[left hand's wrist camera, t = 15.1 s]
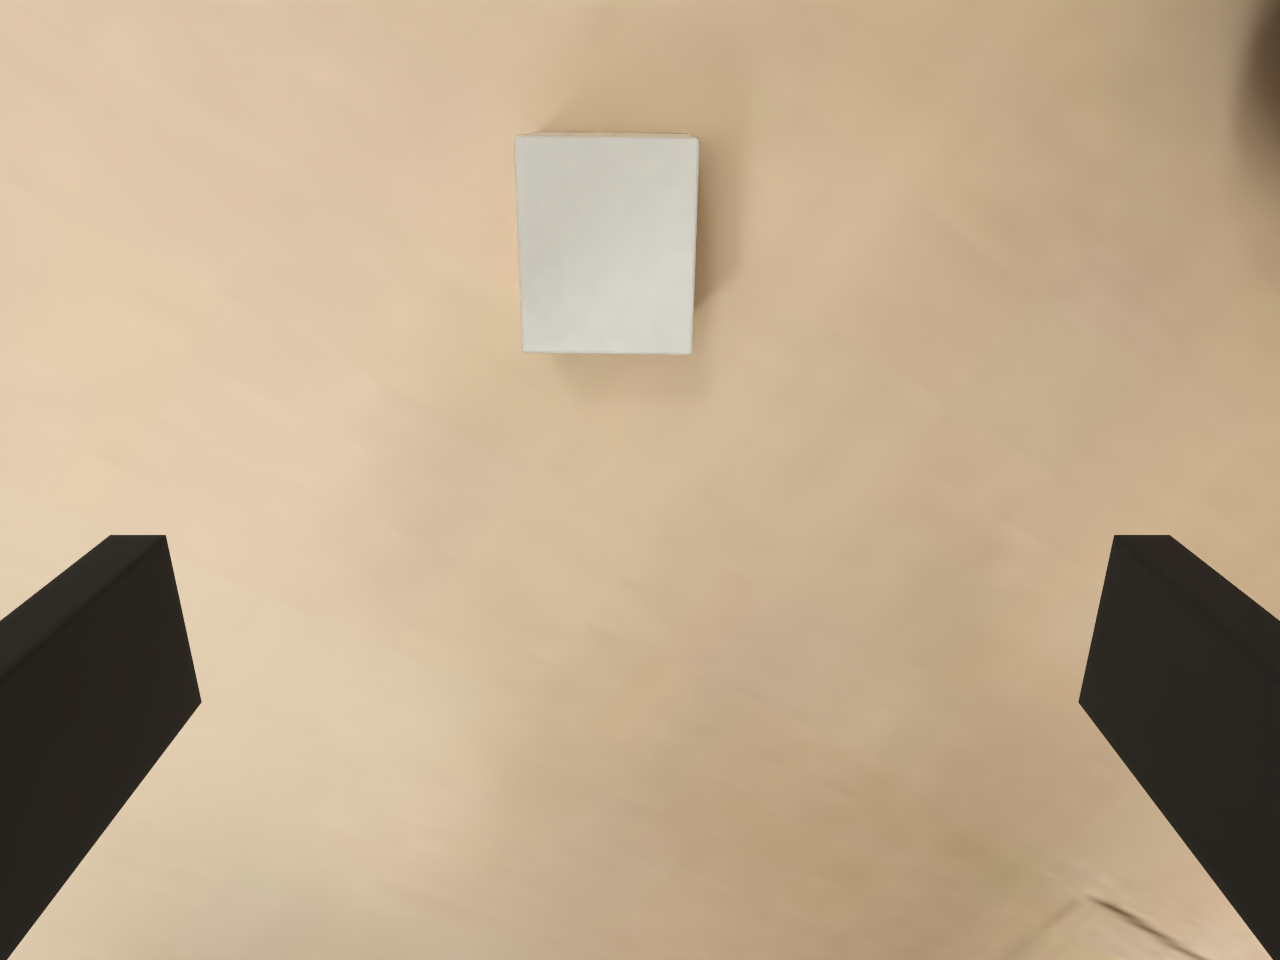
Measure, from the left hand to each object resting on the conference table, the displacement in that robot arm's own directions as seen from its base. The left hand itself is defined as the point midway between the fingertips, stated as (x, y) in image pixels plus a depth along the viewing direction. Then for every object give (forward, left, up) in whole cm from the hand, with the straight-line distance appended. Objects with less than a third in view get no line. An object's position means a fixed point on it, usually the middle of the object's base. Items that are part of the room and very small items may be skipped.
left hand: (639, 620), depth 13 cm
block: (0, +4, -15) cm, 15 cm away
